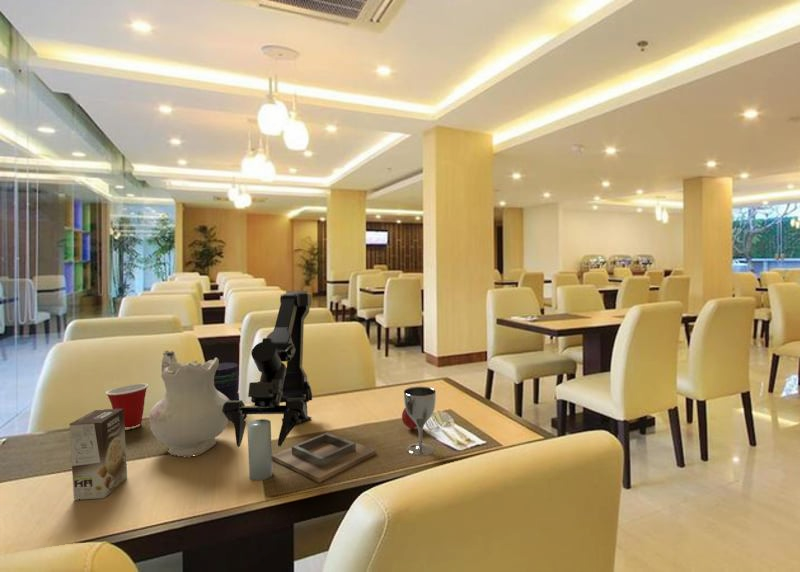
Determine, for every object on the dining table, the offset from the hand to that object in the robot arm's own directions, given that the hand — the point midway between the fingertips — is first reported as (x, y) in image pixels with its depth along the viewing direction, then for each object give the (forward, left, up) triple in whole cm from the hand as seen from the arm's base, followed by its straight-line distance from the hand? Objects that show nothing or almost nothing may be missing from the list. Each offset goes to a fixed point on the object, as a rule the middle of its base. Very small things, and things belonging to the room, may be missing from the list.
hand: (258, 446), depth 100 cm
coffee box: (-23, -24, -7) cm, 34 cm away
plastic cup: (-58, -7, -7) cm, 58 cm away
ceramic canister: (-1, +1, -7) cm, 7 cm away
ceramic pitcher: (-30, -2, -7) cm, 31 cm away
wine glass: (+19, +34, -7) cm, 40 cm away
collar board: (+3, +16, -7) cm, 18 cm away
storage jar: (-48, +17, -7) cm, 51 cm away
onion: (+9, +43, -7) cm, 44 cm away
